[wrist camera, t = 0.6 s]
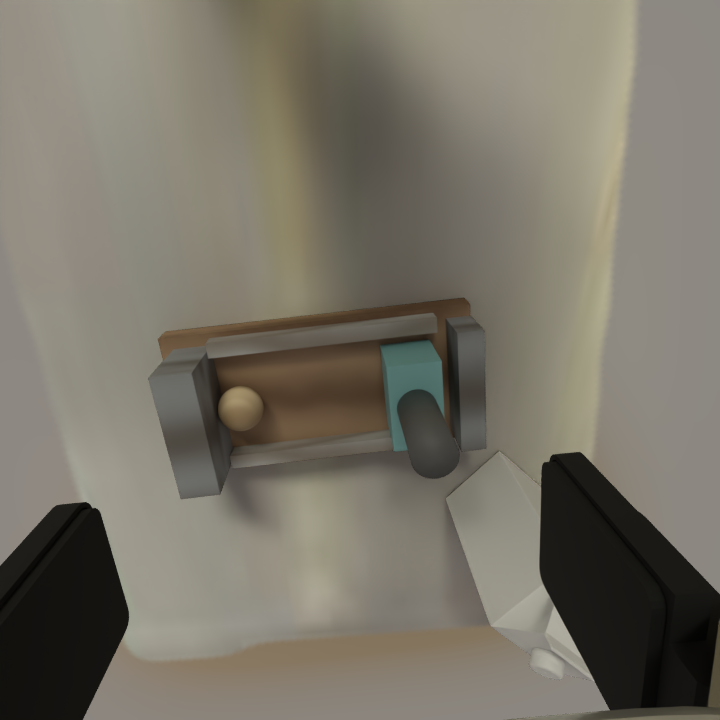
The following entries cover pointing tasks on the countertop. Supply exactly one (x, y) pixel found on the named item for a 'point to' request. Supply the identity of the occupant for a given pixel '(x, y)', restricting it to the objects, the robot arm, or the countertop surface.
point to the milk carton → (512, 564)
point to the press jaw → (418, 407)
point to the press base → (305, 387)
